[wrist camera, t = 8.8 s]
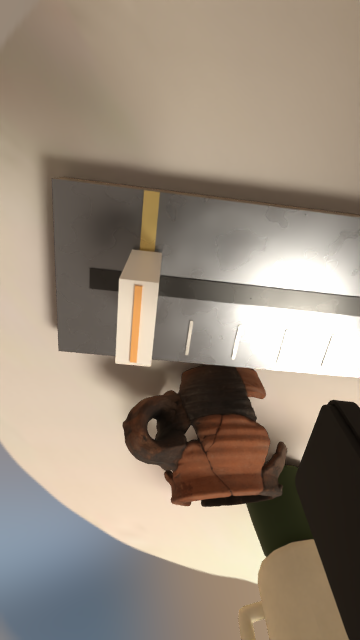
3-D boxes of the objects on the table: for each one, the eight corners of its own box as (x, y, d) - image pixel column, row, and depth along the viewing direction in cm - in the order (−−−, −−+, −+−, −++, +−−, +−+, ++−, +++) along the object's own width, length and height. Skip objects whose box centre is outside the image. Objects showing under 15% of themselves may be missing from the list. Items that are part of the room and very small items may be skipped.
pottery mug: (295, 369, 25) (329, 491, 20) (224, 409, 32) (238, 508, 27) (147, 338, 20) (147, 491, 15) (101, 394, 27) (92, 512, 22)
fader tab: (162, 252, 18) (159, 283, 13) (155, 319, 19) (150, 367, 15) (132, 249, 18) (118, 279, 13) (128, 316, 19) (114, 364, 15)
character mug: (235, 524, 32) (273, 738, 20) (205, 478, 29) (229, 695, 17) (347, 488, 30) (462, 699, 18) (326, 435, 27) (447, 644, 15)
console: (435, 224, 20) (463, 231, 18) (374, 364, 24) (391, 381, 22) (63, 176, 18) (50, 178, 16) (67, 335, 22) (58, 351, 21)
